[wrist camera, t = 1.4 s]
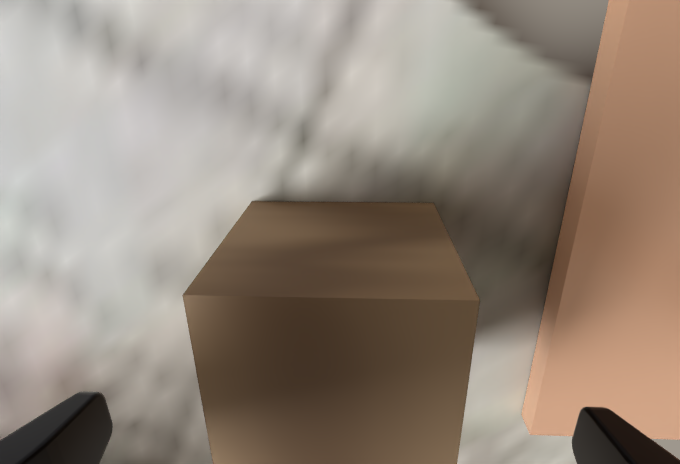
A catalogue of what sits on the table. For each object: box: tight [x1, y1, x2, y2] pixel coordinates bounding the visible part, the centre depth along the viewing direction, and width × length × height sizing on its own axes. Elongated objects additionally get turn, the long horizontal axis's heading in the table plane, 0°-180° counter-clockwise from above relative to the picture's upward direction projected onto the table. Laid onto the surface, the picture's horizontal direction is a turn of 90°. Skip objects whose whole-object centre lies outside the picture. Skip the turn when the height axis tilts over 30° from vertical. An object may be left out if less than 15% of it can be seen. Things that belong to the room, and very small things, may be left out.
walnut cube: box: [183, 201, 480, 464], centre depth 10 cm, size 5×5×5 cm
